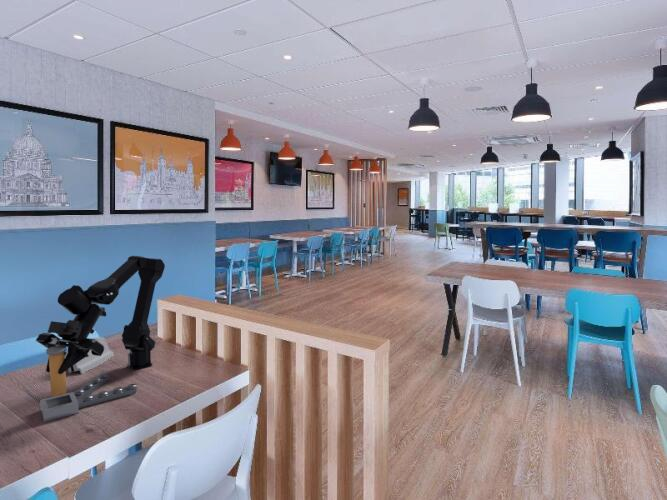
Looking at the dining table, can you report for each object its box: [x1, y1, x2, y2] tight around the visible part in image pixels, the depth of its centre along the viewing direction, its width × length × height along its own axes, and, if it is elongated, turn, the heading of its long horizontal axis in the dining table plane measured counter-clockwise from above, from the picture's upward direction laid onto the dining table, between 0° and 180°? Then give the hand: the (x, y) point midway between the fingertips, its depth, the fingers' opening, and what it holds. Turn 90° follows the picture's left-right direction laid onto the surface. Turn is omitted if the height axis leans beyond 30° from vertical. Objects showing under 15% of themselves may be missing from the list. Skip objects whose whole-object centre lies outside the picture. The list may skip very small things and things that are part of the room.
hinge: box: [65, 336, 116, 375], centre depth 147 cm, size 17×5×10 cm, turn 170°
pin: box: [45, 346, 68, 397], centre depth 114 cm, size 5×5×13 cm
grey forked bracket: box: [39, 371, 138, 423], centre depth 125 cm, size 24×19×3 cm
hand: (53, 372), depth 112 cm, fingers closed on pin, 4 cm apart
